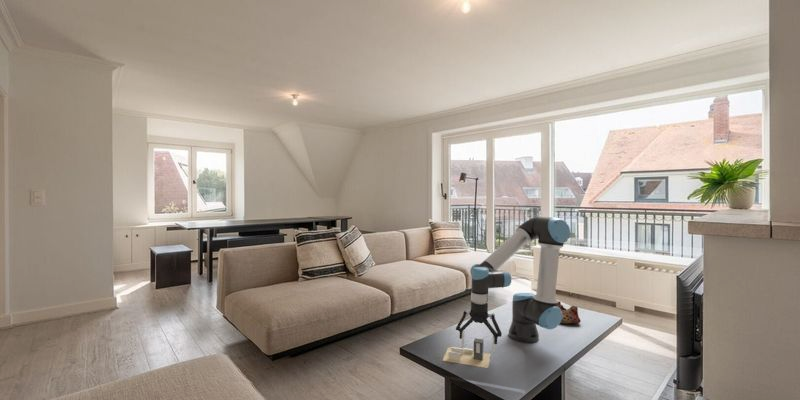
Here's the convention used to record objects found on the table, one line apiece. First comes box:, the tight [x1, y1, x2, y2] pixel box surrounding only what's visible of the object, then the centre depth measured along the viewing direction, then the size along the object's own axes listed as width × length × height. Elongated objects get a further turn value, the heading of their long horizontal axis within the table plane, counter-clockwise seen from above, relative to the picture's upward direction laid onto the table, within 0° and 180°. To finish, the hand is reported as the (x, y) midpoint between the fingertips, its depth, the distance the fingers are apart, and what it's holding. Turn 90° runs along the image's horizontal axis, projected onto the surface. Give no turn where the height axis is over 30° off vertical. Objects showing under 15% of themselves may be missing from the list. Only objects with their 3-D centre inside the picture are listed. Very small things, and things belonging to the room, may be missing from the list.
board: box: [442, 346, 492, 369], centre depth 159 cm, size 20×14×4 cm
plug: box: [473, 337, 485, 361], centre depth 157 cm, size 4×5×8 cm
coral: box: [557, 300, 582, 324], centre depth 210 cm, size 18×13×15 cm
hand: (477, 348), depth 158 cm, fingers open, 13 cm apart
